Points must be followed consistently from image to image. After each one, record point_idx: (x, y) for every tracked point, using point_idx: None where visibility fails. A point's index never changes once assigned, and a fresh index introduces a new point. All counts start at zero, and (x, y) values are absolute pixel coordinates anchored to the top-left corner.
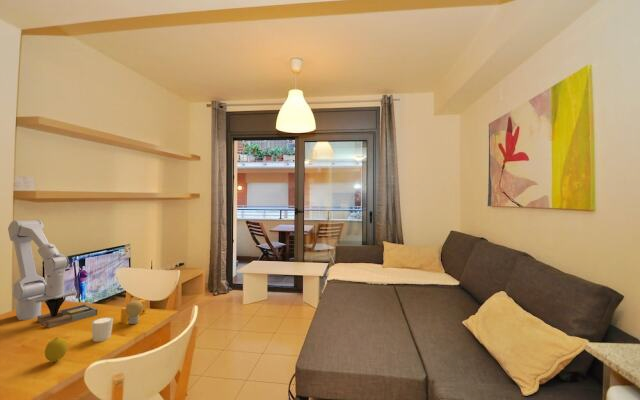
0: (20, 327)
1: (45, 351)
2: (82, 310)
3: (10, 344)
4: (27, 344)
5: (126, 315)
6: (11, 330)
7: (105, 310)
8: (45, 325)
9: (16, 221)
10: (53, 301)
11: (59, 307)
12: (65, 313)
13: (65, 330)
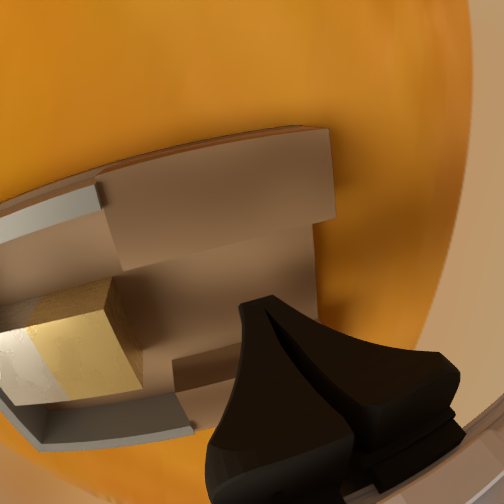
0: (385, 323)
1: None
2: (12, 329)
3: (461, 63)
4: None
5: None
6: (419, 298)
7: None
8: (309, 226)
9: None
10: (397, 426)
11: (244, 363)
12: (153, 403)
13: (191, 10)
